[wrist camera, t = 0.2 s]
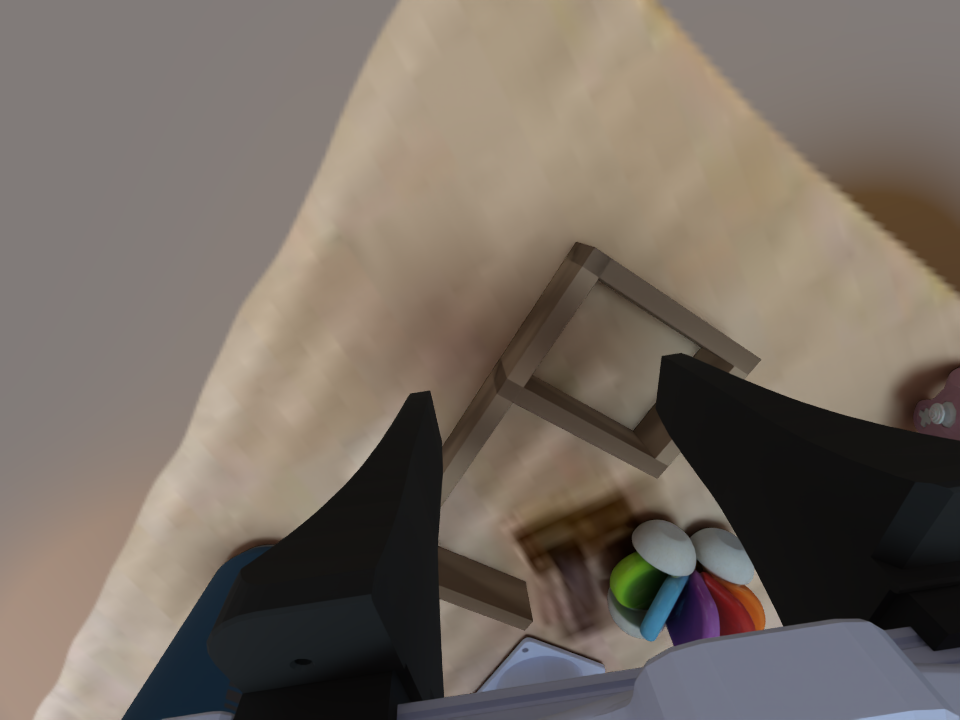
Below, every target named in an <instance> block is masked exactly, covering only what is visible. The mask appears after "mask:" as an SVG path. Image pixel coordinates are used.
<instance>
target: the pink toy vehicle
mask: <svg viewBox="0 0 960 720" xmlns="http://www.w3.org/2000/svg"><path fill="white" fill-rule="evenodd" d="M913 420H914V425H915V428H916V429H917V431H918V432H919V433H922V434H928V435H933V436H938V437H943V438H948V439H954V440H960V367H959V368H957V369H955V370H953V371H952V372H951V373H950V374H949V376H948V379H947V381H946V384H945V387H944V389H943V390H942V391H941V392H940V393H939V394H938V395H937V396H936V397H935V398H933V399H932V400H921V401H920V402H918V403H917V405H916V408H915V411H914V414H913Z"/></svg>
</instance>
